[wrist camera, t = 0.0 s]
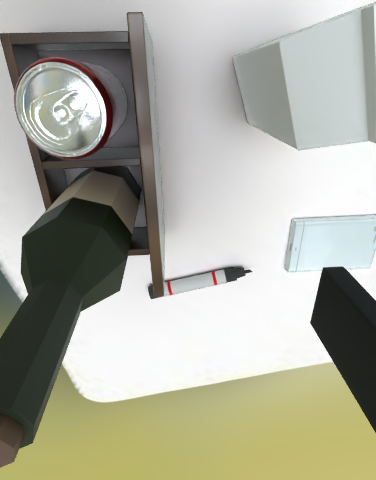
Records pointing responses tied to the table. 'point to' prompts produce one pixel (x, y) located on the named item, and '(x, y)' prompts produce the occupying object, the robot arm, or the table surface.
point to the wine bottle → (62, 291)
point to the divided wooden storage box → (147, 154)
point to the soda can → (69, 106)
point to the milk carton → (314, 82)
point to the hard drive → (331, 243)
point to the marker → (200, 281)
